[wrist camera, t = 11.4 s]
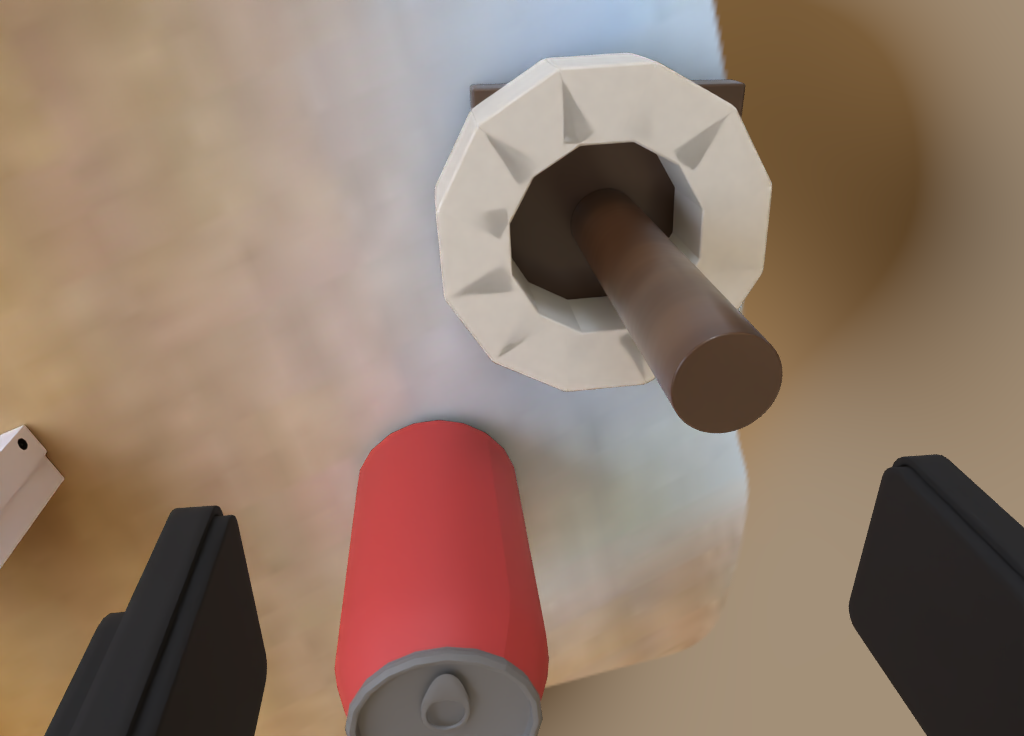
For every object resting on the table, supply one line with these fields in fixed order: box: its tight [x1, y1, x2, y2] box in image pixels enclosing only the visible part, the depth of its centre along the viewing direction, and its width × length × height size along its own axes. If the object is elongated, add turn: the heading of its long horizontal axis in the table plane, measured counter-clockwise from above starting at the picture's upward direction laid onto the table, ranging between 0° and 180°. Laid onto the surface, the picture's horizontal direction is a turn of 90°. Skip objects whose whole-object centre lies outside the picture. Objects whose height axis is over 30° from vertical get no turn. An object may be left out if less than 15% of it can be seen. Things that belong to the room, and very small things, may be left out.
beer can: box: [335, 420, 549, 736], centre depth 27 cm, size 7×7×12 cm
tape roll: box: [434, 53, 772, 392], centre depth 25 cm, size 10×10×3 cm
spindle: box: [470, 80, 782, 433], centre depth 22 cm, size 9×9×13 cm
